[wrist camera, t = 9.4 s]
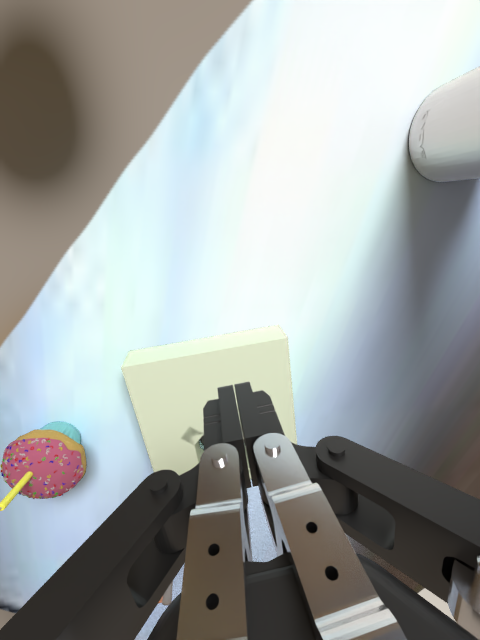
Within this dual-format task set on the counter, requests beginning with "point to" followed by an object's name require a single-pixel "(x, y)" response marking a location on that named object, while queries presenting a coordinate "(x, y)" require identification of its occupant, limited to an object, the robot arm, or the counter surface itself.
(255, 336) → the board
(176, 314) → the counter surface
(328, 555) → the robot arm
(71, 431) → the cupcake
